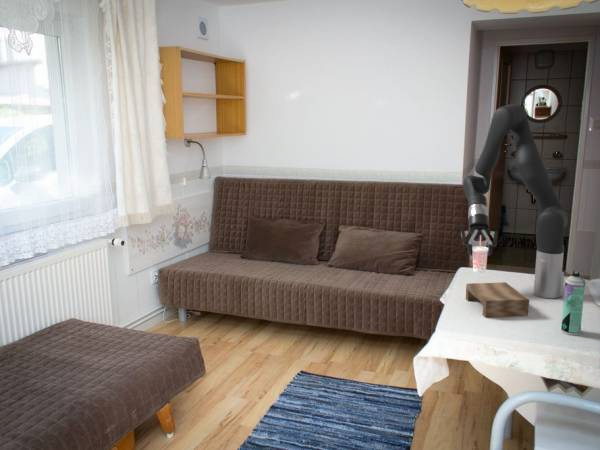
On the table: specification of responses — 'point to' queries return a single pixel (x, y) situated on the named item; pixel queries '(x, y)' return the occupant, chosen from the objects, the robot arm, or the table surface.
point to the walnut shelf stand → (498, 299)
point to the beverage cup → (479, 258)
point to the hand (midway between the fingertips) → (480, 254)
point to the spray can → (573, 304)
